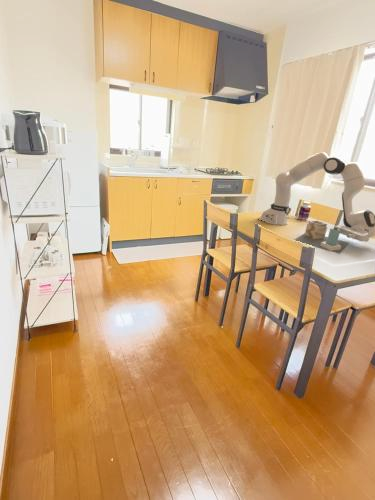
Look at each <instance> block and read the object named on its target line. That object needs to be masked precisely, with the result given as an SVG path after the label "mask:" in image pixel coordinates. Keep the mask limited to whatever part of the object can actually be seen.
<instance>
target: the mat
mask: <svg viewBox="0 0 375 500" xmlns="http://www.w3.org/2000/svg"><path fill="white" fill-rule="evenodd" d="M327 239H328V236H326V235H325V237H324V238H320V239H313V238H311V237H309V236H307V235H305V232H304V233H303V234H301V235H299V236H298V237H296V238H295V239H294V240H296V241H300V242H302V243H301V244H303V243H306V244H305V245H307V244H309V245H308V246H310V245H312V246H311V247H314V246H315V247H314V248H318V249H322V250H325V251H329V252H333V253H335V254H338V255H340V254H341V253H342V252H343V251H344V250H345V249H346V248H347V247H348V245H349V244H350V242H349V241H344V240H340V239H338V241H337V244H338V245H341V249H340V250H332V251H330V250H328V249H326V248H324V247H322V246H320V245H321V242H327ZM296 241H295V242H296ZM300 242H299V243H300Z"/></svg>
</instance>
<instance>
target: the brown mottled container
mask: <svg viewBox="0 0 375 500" xmlns="http://www.w3.org/2000/svg"><path fill="white" fill-rule="evenodd" d="M327 230H328V224H327V223H325V222H323V221H320V220H309V221H308V223H306V227H305V230H304V233H305V235H307V236H309V237H311V238H313V239H320V238H324V237H325V236H326V234H327V233H326V232H327Z"/></svg>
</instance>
